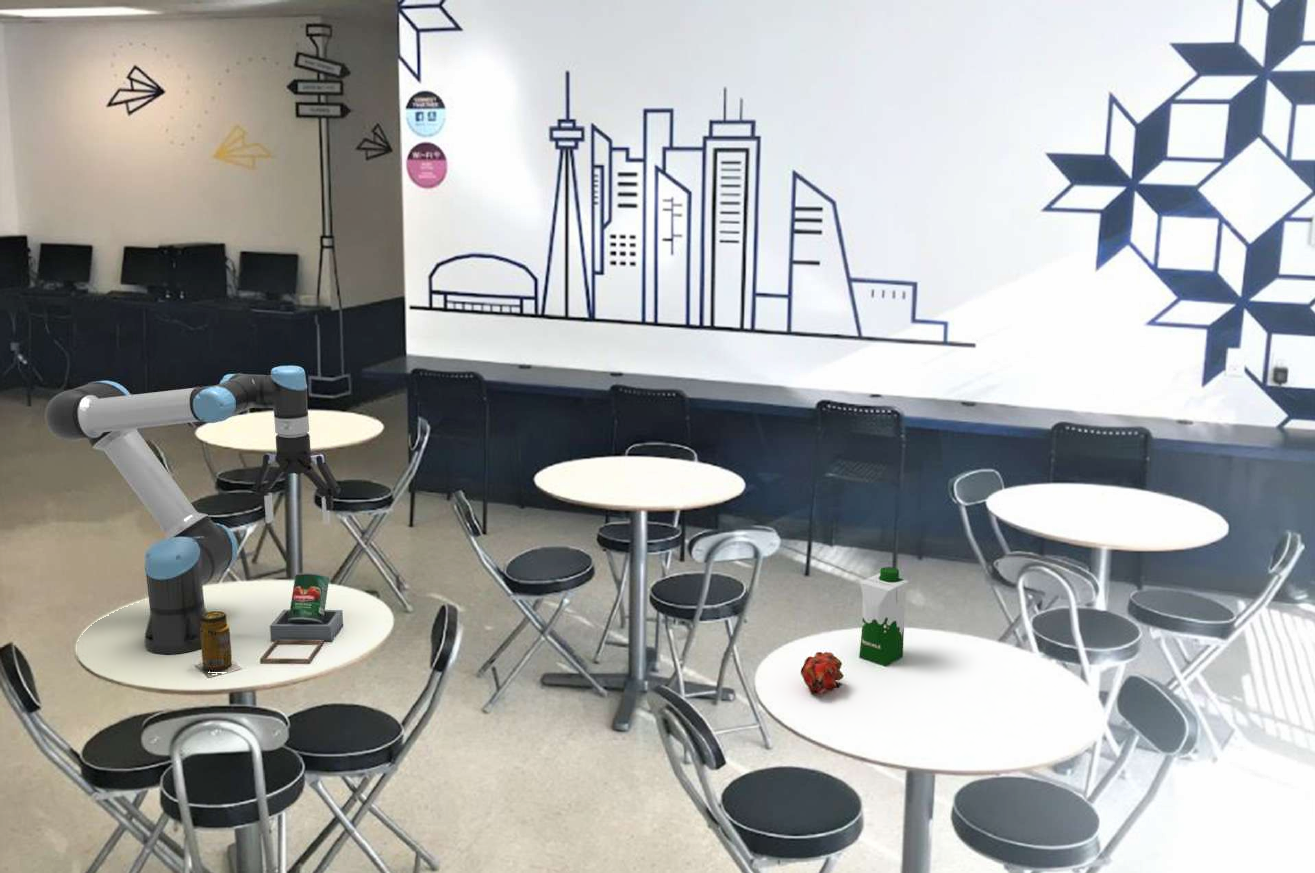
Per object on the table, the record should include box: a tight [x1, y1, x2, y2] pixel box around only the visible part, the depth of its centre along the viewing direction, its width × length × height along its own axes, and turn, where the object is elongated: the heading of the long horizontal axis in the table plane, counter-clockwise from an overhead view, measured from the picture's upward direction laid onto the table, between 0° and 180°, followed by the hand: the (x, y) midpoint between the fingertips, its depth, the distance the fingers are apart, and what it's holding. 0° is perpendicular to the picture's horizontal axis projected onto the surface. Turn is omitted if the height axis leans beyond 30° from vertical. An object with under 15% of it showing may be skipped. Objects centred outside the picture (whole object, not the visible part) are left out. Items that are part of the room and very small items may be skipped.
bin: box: [269, 609, 344, 643], centre depth 286 cm, size 14×10×4 cm
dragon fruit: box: [800, 651, 844, 696], centre depth 256 cm, size 8×8×12 cm
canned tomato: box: [288, 572, 330, 625], centre depth 287 cm, size 8×8×11 cm
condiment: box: [195, 610, 243, 678], centre depth 267 cm, size 7×8×12 cm
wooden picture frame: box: [259, 640, 325, 665], centre depth 276 cm, size 11×11×1 cm
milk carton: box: [858, 566, 909, 667], centre depth 271 cm, size 9×9×20 cm
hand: (298, 522), depth 286 cm, fingers open, 13 cm apart
